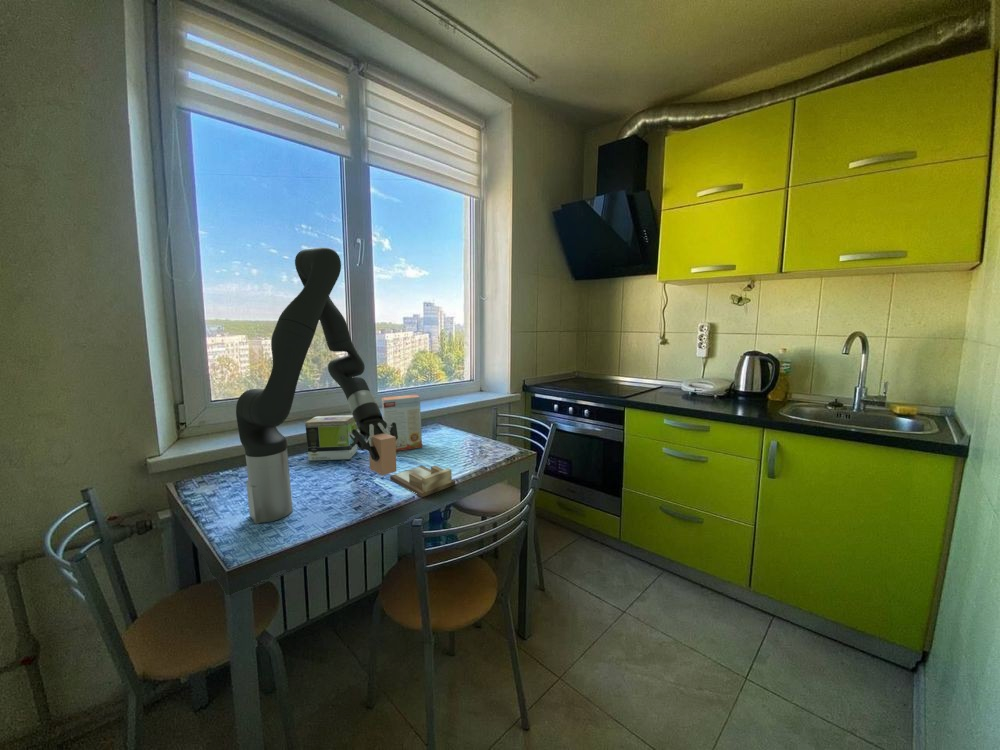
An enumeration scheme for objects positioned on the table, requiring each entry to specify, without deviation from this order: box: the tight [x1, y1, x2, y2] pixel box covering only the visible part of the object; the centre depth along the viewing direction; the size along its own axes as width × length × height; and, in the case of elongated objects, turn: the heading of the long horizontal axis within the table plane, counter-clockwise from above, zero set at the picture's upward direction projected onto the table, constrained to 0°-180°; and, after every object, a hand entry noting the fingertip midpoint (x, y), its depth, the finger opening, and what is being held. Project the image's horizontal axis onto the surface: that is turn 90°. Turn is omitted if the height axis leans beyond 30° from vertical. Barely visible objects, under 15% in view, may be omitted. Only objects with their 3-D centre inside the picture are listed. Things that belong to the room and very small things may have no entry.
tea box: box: [304, 414, 358, 461], centre depth 143 cm, size 15×10×15 cm, turn 94°
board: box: [389, 465, 456, 498], centre depth 120 cm, size 12×18×5 cm, turn 45°
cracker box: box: [381, 394, 423, 452], centre depth 151 cm, size 14×6×21 cm, turn 114°
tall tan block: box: [368, 433, 397, 476], centre depth 109 cm, size 4×7×10 cm, turn 46°
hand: (386, 457), depth 108 cm, fingers closed on tall tan block, 4 cm apart
